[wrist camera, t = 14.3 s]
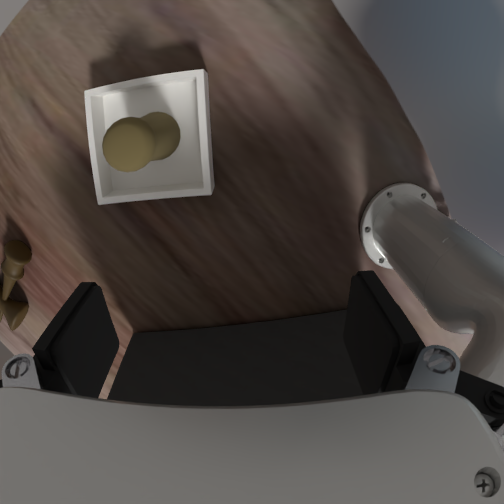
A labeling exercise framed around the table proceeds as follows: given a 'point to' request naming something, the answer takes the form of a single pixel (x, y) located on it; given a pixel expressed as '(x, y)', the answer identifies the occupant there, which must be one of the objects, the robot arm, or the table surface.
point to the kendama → (13, 282)
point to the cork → (140, 141)
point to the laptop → (240, 364)
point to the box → (160, 171)
